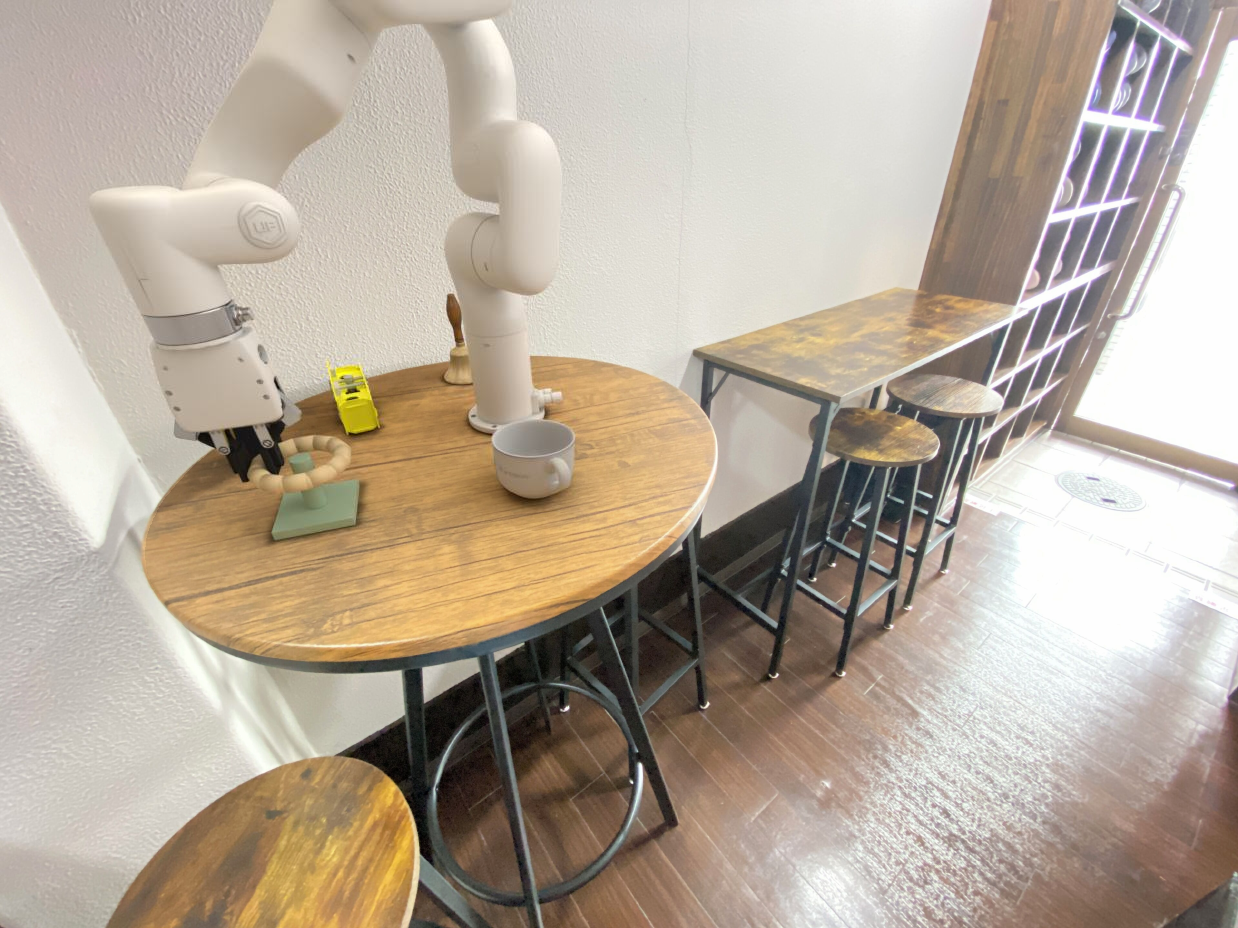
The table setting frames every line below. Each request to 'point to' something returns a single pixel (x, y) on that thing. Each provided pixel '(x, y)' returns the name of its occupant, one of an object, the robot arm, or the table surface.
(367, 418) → the yellow toy chassis
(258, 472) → the ring
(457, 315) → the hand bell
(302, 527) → the post
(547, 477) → the teacup
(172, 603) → the table surface
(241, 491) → the table surface
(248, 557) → the table surface
